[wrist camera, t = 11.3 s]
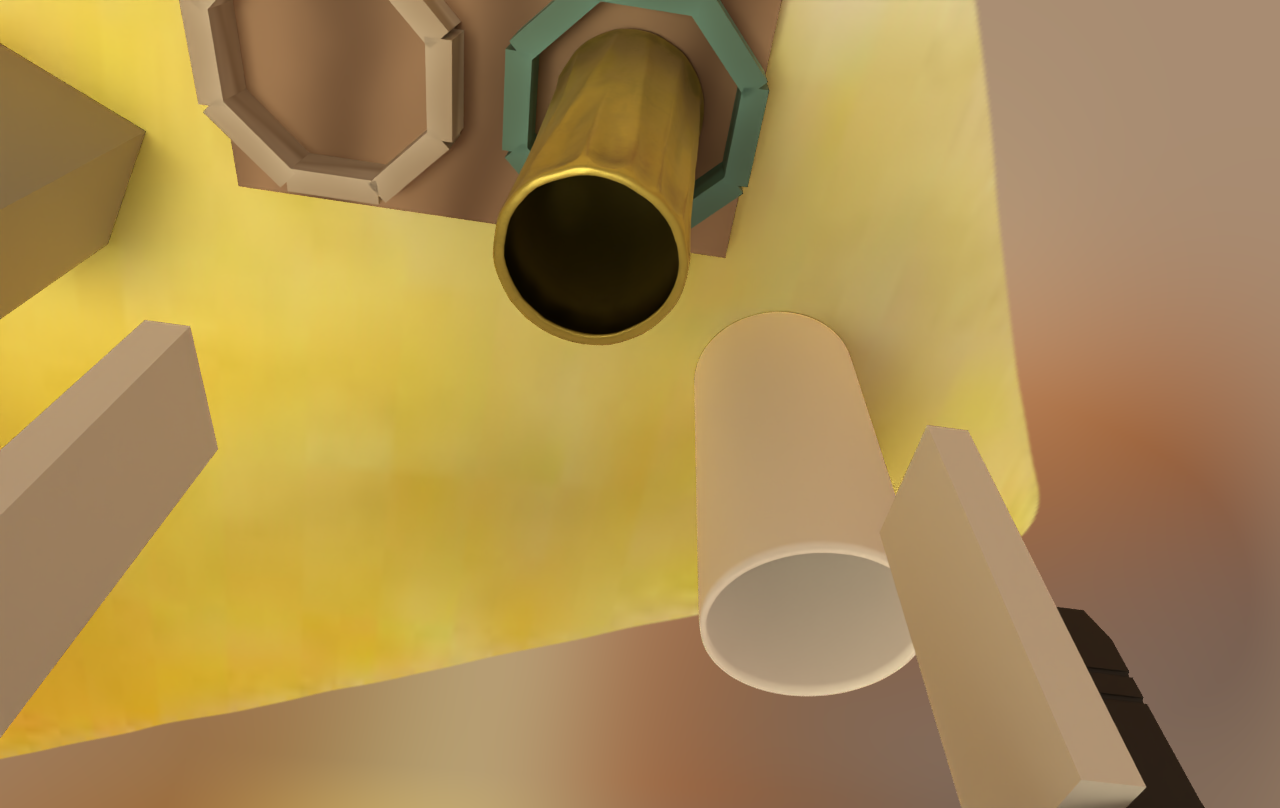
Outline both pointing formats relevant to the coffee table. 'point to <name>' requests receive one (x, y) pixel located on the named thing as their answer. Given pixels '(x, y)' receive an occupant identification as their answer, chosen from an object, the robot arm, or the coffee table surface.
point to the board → (454, 94)
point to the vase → (606, 193)
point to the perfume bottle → (55, 177)
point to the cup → (792, 513)
